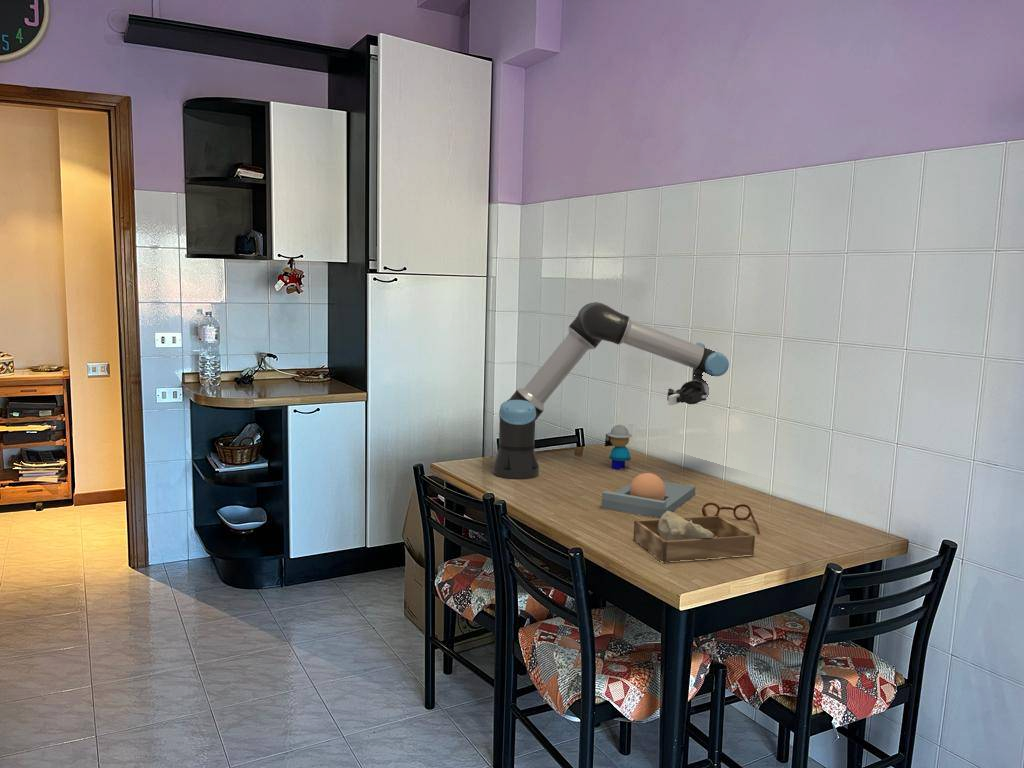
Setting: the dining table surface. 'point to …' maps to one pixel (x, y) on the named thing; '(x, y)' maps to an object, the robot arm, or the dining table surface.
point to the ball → (648, 487)
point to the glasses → (733, 512)
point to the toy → (618, 446)
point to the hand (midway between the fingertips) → (670, 400)
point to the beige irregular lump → (680, 528)
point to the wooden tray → (696, 540)
